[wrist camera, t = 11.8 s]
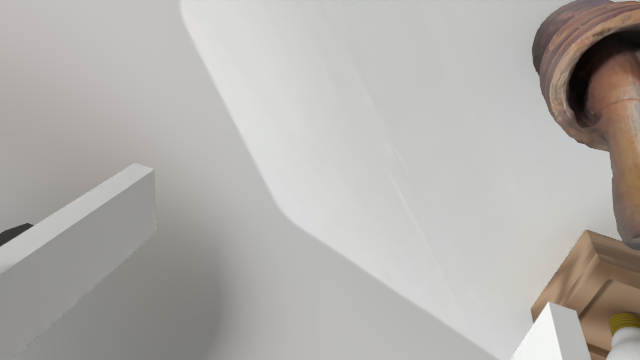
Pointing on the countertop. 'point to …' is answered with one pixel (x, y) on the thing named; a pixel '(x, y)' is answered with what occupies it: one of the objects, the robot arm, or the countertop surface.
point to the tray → (595, 288)
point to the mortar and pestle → (598, 90)
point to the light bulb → (625, 337)
